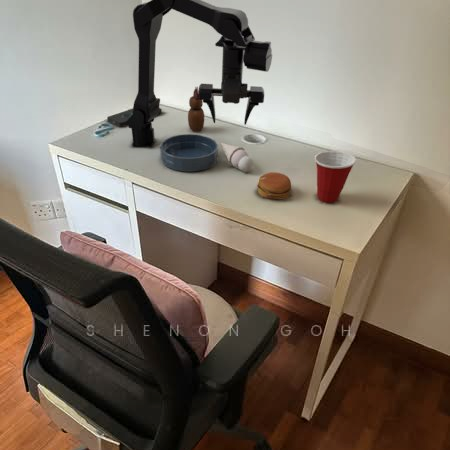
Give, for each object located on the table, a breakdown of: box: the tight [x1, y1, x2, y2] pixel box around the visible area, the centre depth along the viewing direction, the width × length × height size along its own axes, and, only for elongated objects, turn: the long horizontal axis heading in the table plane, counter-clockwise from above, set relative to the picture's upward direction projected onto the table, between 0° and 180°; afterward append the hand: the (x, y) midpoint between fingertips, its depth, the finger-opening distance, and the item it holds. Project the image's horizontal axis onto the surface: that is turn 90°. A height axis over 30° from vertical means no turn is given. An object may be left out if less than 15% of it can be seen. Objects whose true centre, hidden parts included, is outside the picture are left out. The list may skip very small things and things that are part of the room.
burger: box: [256, 171, 292, 200], centre depth 118 cm, size 10×9×5 cm
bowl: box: [159, 133, 219, 172], centre depth 132 cm, size 18×18×4 cm
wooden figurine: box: [187, 86, 205, 133], centre depth 145 cm, size 7×6×15 cm
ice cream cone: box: [220, 142, 254, 173], centre depth 129 cm, size 6×6×15 cm
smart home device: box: [106, 108, 162, 128], centre depth 157 cm, size 8×2×20 cm
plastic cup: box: [314, 150, 357, 204], centre depth 114 cm, size 11×11×12 cm
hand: (229, 123), depth 126 cm, fingers open, 9 cm apart
